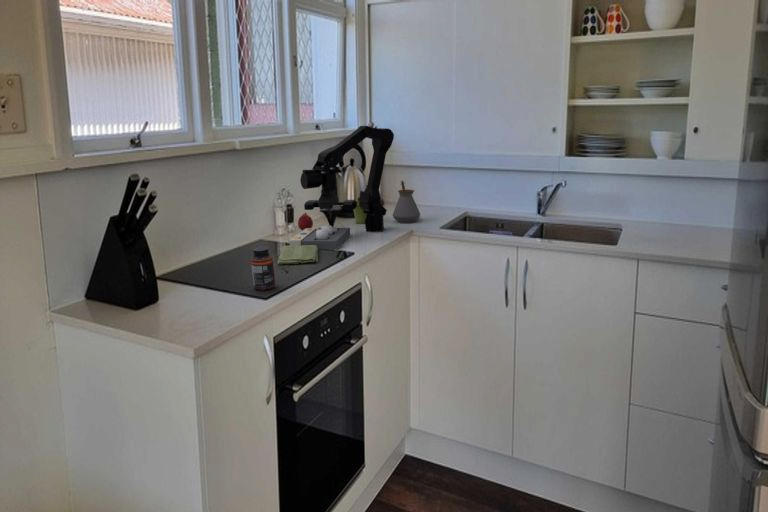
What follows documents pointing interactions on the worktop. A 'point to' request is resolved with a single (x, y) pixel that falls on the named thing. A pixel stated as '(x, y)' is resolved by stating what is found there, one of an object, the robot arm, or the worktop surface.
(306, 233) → the tile
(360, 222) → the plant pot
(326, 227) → the button
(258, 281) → the supplement bottle
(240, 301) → the worktop surface
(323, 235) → the button
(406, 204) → the coffee pot
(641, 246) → the worktop surface
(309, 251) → the washcloth
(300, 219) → the onion
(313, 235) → the board
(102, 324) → the worktop surface
